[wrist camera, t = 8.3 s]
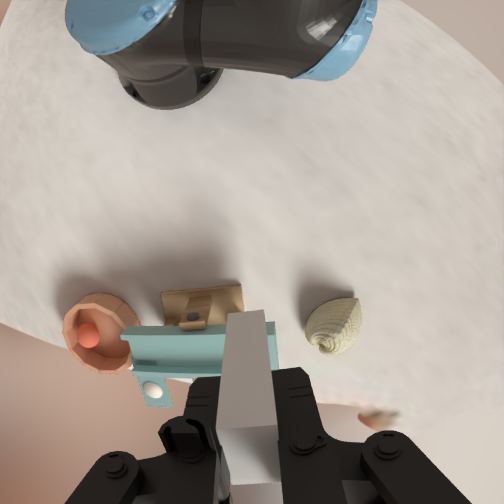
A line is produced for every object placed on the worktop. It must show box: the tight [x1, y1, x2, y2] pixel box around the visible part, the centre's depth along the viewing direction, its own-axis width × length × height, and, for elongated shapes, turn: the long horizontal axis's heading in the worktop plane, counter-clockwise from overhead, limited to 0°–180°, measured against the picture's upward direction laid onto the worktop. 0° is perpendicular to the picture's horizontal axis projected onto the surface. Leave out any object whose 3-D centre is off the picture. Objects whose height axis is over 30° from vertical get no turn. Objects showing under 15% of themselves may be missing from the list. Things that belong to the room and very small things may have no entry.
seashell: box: [305, 298, 362, 356], centre depth 46 cm, size 8×8×8 cm
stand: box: [160, 285, 244, 382], centre depth 44 cm, size 11×12×9 cm
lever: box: [120, 322, 279, 408], centre depth 40 cm, size 14×20×3 cm
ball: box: [77, 323, 100, 348], centre depth 46 cm, size 4×4×4 cm
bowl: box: [62, 293, 141, 375], centre depth 46 cm, size 13×13×4 cm
